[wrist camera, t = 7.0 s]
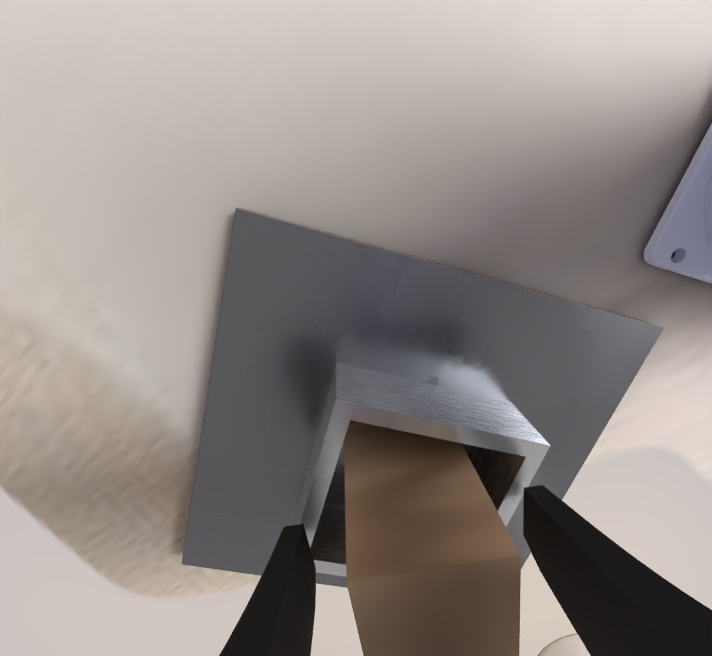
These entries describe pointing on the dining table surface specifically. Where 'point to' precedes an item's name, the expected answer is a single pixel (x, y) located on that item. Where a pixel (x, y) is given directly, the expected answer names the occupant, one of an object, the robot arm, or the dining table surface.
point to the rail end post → (426, 549)
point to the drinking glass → (566, 647)
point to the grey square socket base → (386, 385)
